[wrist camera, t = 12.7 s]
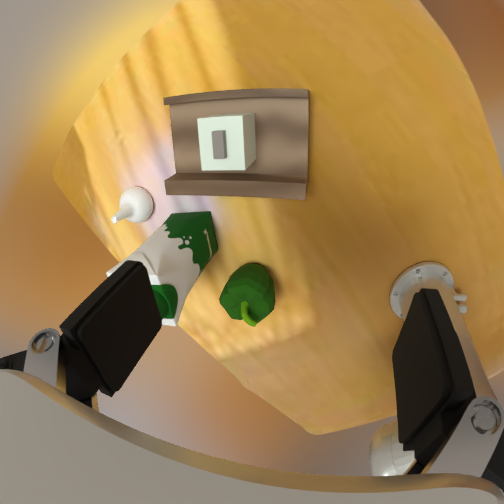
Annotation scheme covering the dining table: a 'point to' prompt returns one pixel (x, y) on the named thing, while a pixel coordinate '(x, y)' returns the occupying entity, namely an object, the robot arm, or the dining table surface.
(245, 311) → the bell pepper
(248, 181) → the shelf
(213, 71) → the dining table surface
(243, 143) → the cabinet
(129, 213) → the garlic bulb
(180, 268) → the milk carton
